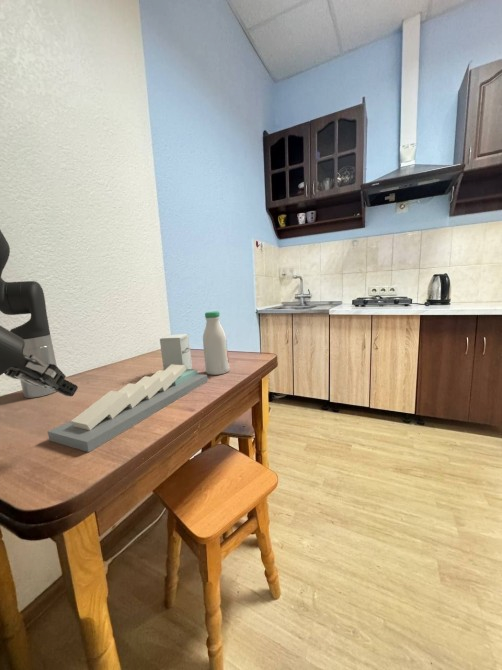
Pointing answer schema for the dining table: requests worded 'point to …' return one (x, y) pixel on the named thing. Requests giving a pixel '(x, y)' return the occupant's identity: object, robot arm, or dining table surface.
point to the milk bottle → (215, 345)
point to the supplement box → (176, 350)
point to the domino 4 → (164, 378)
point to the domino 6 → (185, 376)
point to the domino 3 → (149, 386)
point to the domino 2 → (132, 393)
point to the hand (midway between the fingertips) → (72, 391)
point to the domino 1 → (99, 410)
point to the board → (122, 418)
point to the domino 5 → (177, 372)
